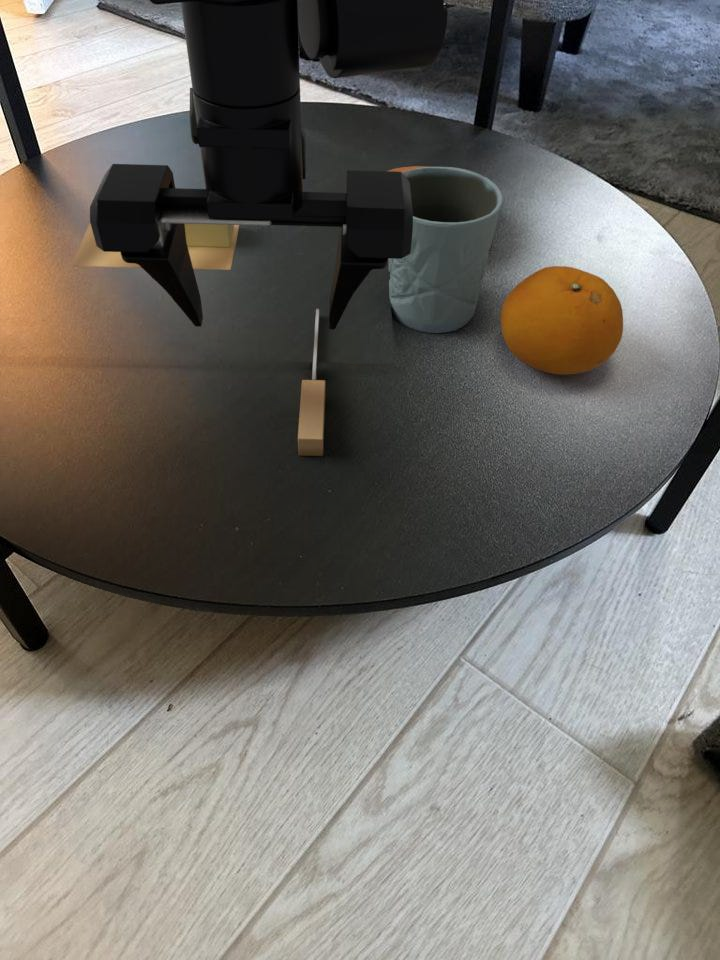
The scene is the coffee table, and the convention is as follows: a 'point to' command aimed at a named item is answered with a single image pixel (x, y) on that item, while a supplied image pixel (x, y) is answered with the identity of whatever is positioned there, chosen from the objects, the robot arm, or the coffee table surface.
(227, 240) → the butter stick
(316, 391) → the chisel
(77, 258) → the cutting board
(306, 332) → the coffee table surface
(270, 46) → the robot arm
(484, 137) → the coffee table surface
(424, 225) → the green ceramic cup
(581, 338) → the fruit
